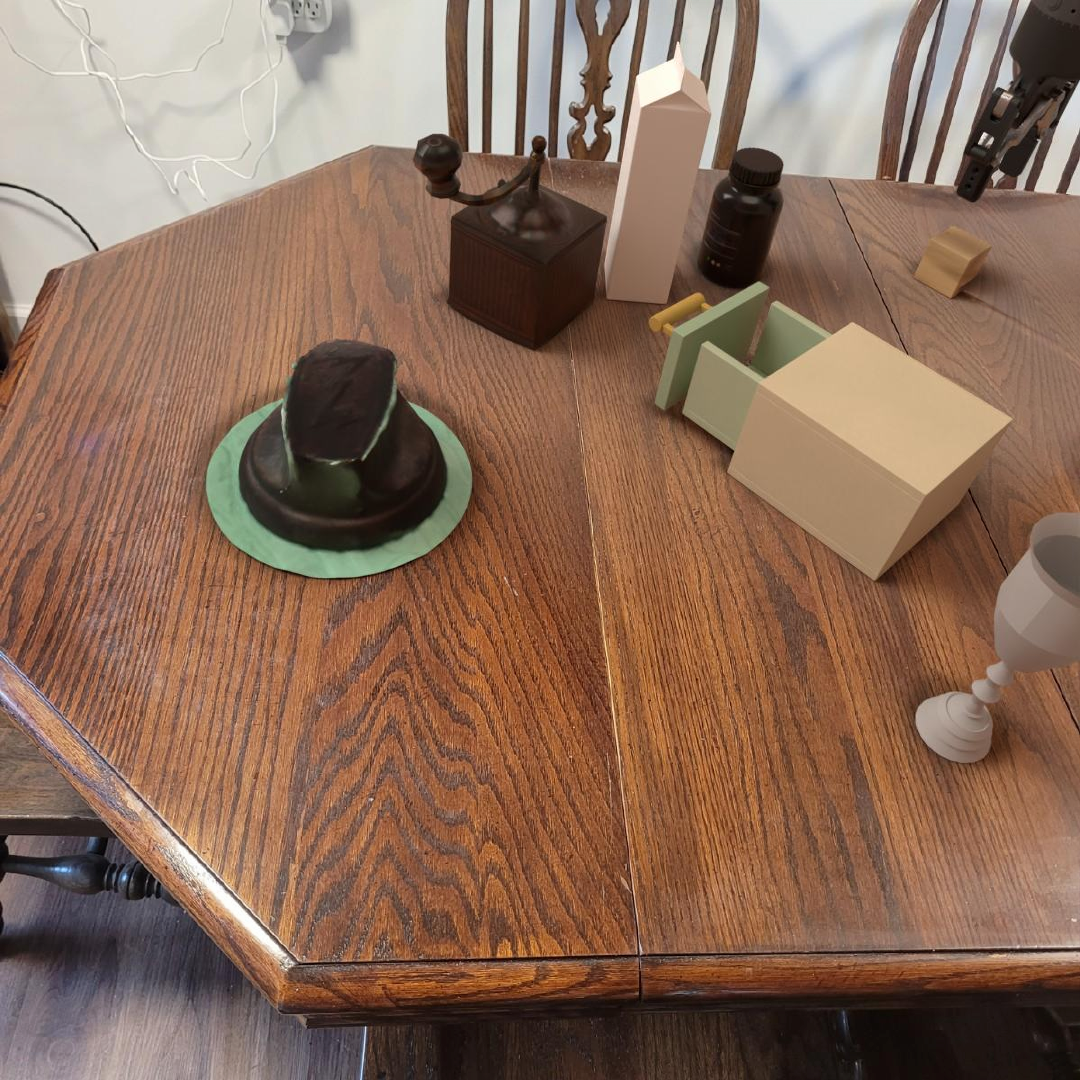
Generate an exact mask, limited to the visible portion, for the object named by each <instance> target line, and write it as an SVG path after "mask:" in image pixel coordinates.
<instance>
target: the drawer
mask: <svg viewBox="0 0 1080 1080" xmlns="http://www.w3.org/2000/svg"><path fill="white" fill-rule="evenodd" d="M770 289H771V288H770V286H768V285H766V284H765V283H763V282H761V281H759V280H758V281H756V282H755V283H753V284H751V285H749V286H747V287H746V288H744V289H743V290H741V291H739V292H737V293H736V294H734V295H732V296H730V297H728V298H726V299H725V300H723V301H721V302H719V303H718V304H716V305H714V306H711V305H710V304H709V303H706V298H705V296H704V295H703V294H702V293H700V292H695V293H693V294H691V295H689V296H688V297H686V298H684V299H681V300H680V301H678V302H677V303H675V304H672V305H671V306H669V307H667V308H665V309H663V310H662V311H659V312H658V313H656V314H654V315H652V316H651V317H650V318H649V319H648V326H649V328H650V330H651V331H653V332H654V333H660V332H663V333H665V334H666V335H667V336H669V337H670V339H669V343H668V347H667V352H666V354H665V359H664V364H663V367H662V371H661V374H660V379H659V383H658V387H657V390H656V395H655V399H654V402H653V403H654V405H656V406H657V407H658V408H660V409H661V410H663V411H666V410H668V409H669V408H671V407H673V406H674V405H676V404H677V403H679V402H681V401H682V400H684V399H685V402H684V405H683V408H682V411H681V413H682V415H684V416H685V417H686V418H688V419H690V420H691V421H692V422H694V423H695V424H697V425H698V426H699V427H701V428H702V429H703V430H704V431H705V432H707V433H709V434H711V435H712V436H713V437H714V438H715V439H717V440H718V441H720V442H722V443H723V444H724V445H725V446H727V447H728V448H729V449H731V450H733V451H735V449H736V446H737V443H738V440H739V437H740V434H741V432H742V429H743V426H744V423H745V420H746V418H747V415H748V412H749V409H750V406H751V403H752V401H753V398H754V395H755V392H756V389H757V387H758V384H759V382H761V381H762V380H764V379H765V378H767V377H768V376H770V375H772V374H773V373H775V372H776V371H778V370H779V369H781V368H782V367H784V366H785V365H787V364H788V363H790V362H792V361H793V360H795V359H796V358H798V357H799V356H801V355H802V354H804V353H805V352H807V351H808V350H810V349H812V348H813V347H815V346H816V345H818V344H819V343H821V342H822V341H824V340H825V339H827V338H828V337H830V336H832V335H833V334H832V333H830V332H828V331H827V330H826V329H824V328H822V327H821V326H819V325H817V324H816V323H814V322H812V321H811V320H809V319H808V318H806V317H804V316H803V315H802V314H800V313H798V312H796V311H795V310H793V309H791V308H790V307H788V306H787V305H785V304H784V303H782V302H780V301H779V300H775V301H773V302H771V304H770V306H769V309H768V313H767V315H766V318H765V322H764V325H763V326H762V330H761V332H760V336H759V338H758V341H757V345H756V347H755V350H754V353H753V356H752V360H751V363H750V364H749V365H747V366H746V365H744V363H743V362H745V361H747V357H748V354H749V351H750V349H751V345H752V343H753V340H754V336H755V334H756V330H757V328H758V324H759V322H760V319H761V315H762V313H763V310H764V306H765V304H766V300H767V299H768V294H769V292H770ZM697 311H700V312H701V313H700V314H698V315H696V316H695V317H693V318H690V319H689V320H687V321H685V322H683V323H682V324H680V325H678V326H676V327H674V326H673V325H674V324H676V323H678V322H680V321H681V320H683V319H684V318H687V317H688V316H690V315H692V314H694V313H695V312H697Z"/></svg>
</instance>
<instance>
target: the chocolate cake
mask: <svg viewBox="0 0 1080 1080" xmlns="http://www.w3.org/2000/svg"><path fill="white" fill-rule="evenodd" d="M291 370H293V372H292V375H291V376H288V377H286V378H285V383H286V388H285V392H284V394H283V397H282V398H280V399H279V400H276V401H272V402H270V403H267V404H266V405H264V406H262V407H260V408H259V409H257V410H255V411H253V412H251V413H250V414H248V415H246V416H245V417H243V418H242V419H240V421H238V422H237V423H236V424H235V425H233V427H231V428H230V430H229V432H228V433H227V434H226V435H225V436H224V437H223V439H222V440H221V441H220V443H219V444H218V445H217V447H216V449H215V450H214V452H213V454H212V456H211V458H210V460H209V463H208V466H207V470H206V475H205V476H206V477H205V490H206V491H205V492H206V497H207V503H208V506H209V509H210V511H211V514H212V517H213V518H214V521H215V522H216V524H217V526H218V528H219V529H220V530H221V533H223V534H224V536H226V538H227V539H228V540H229V541H230V542H231V544H233V545H234V546H235V547H237V549H240V550H241V551H243V552H244V553H246V554H247V555H249V556H250V557H252V558H254V559H255V560H257V561H259V562H261V563H263V564H266V565H268V566H269V567H272V568H275V569H279V570H284V571H288V572H291V573H295V574H300V575H302V576H306V577H310V578H317V579H337V578H357V577H363V576H368V575H369V576H370V575H374V574H375V575H376V574H378V573H381V572H382V573H383V572H385V571H388V570H391V569H394V568H397V567H399V566H402V565H405V564H407V563H408V562H410V561H414V560H415V559H418V558H420V557H423V556H425V555H427V554H428V553H430V552H431V551H432V550H433V549H435V548H436V547H437V546H438V545H439V544H440V543H442V542H443V541H445V539H446V538H447V537H449V535H450V534H451V533H452V532H453V530H454V529H455V528H456V527H457V526H458V524H459V523H460V522H461V520H462V518H463V516H464V514H465V512H466V510H467V509H468V505H469V502H470V499H471V494H472V488H473V473H472V466H471V463H470V460H469V457H468V454H467V452H466V450H465V447H464V446H463V445H462V443H461V442H460V440H459V438H458V437H457V436H456V435H455V434H454V433H453V431H452V429H450V428H449V426H448V425H446V424H445V422H444V421H443V420H442V419H440V418H438V417H437V416H436V415H434V414H433V413H432V412H431V411H429V410H427V409H426V408H424V407H422V406H420V405H417V404H415V403H413V402H410V401H408V400H407V399H406V398H405V397H404V396H403V394H402V393H401V391H400V390H399V389H398V381H397V378H396V375H397V373H398V360H397V358H396V354H394V352H393V351H392V350H391V349H389V348H386V347H383V346H380V345H376V344H372V343H369V342H365V341H361V340H353V339H340V338H339V339H338V338H336V339H329V340H325V341H322V342H320V343H318V344H317V345H316V346H315V347H314V348H313V349H309V350H308V352H307V353H306V354H305V355H301V356H299V358H298V359H297V360H296V361H295V363H292V364H291Z"/></svg>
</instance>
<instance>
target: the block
mask: <svg viewBox="0 0 1080 1080" xmlns="http://www.w3.org/2000/svg"><path fill="white" fill-rule="evenodd" d="M992 247H993V245H991V244H990V243H988V242H986V241H984V240H983V239H982V240H981V239H980V238H978V237H976V236H975V235H972V234H971V233H969V232H967V231H965V230H963V229H961V228H959V227H957V226H955V225H952V226H950V227H949V228H947V229H945V230H943V231H942V232H940V233H939V234H937V235H936V236H934V237H932V238H931V239H930V241H929V243H928V245H927V247H926V249H925V251H924V253H923V255H922V258H921V260H920V262H919V265H918V266H917V268H916V270H915V273H914V275H913V279H914V280H917V281H918V282H920V283H922V284H924V285H925V286H927V287H929V288H931V289H933V290H935V292H938V293H940V294H942V295H943V296H945V297H947V298H948V299H952V298H954V297H955V296H957V295H958V294H960V293H961V292H963V291H964V290H965V289H964V288H963V286H964V285H966V284H968V283H969V282H970V281H972V280H973V279H975V278H976V277H977V276H978V274H979V272H980V270H981V269H982V267H983V264H984V263H985V260H986V258H987V256H988V254H989V253H990V251H991V250H992Z"/></svg>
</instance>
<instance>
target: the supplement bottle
mask: <svg viewBox="0 0 1080 1080" xmlns="http://www.w3.org/2000/svg"><path fill="white" fill-rule="evenodd" d="M784 165H785V164H784V161H783V159H782V158H781V157H780V156H779V155H777V153H775V152H774V151H770V150H768V149H764V148H760V147H750V146H749V147H744V148H740V149H738V150H737V151H735V152H734V153H733V155H732V159H731V163H730V166H729V168H728V173H727V175H726V176H724V177H723V178H721V179H720V180H719V181H717V183H716V185H715V187H714V190H713V192H712V196H711V200H710V205H709V209H708V213H707V218H706V222H705V225H704V230H703V234H702V238H701V243H700V245H699V246H700V247H699V250H698V255H697V256H698V257H697V267H698V269H699V272H701V274H702V275H703V276H704V277H705V278H706V279H708V280H709V281H711V282H713V283H716V285H720V286H723V287H728V288H743V287H744V288H745V287H749V286H752V285H753V284H755V283H757V282H758V281H759V280H760V278H761V277H762V275H763V273H764V270H765V266H766V264H767V260H768V258H769V254H770V250H771V248H772V243H773V240H774V237H775V234H776V230H777V228H778V224H779V220H780V218H781V214H782V212H783V207H784V204H785V203H784V202H785V201H784V200H785V199H784V195H783V191H782V190H781V188H780V187H779V185H780V183H781V180H782V173H783V171H784Z"/></svg>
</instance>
